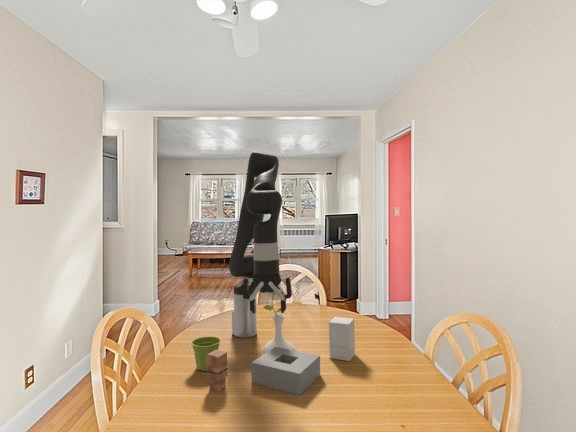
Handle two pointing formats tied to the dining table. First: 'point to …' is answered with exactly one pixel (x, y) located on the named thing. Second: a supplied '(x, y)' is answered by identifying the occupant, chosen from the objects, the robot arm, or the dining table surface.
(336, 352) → the supplement box
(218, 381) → the peg
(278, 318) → the flower in vase
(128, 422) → the dining table surface
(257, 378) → the mortise board
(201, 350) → the plant pot
